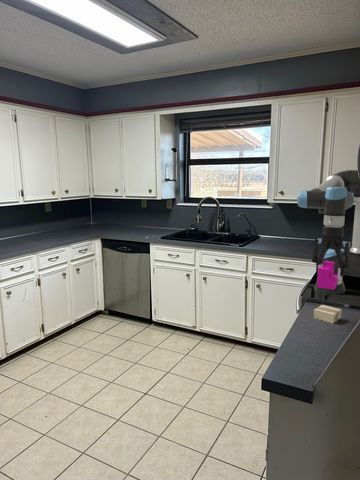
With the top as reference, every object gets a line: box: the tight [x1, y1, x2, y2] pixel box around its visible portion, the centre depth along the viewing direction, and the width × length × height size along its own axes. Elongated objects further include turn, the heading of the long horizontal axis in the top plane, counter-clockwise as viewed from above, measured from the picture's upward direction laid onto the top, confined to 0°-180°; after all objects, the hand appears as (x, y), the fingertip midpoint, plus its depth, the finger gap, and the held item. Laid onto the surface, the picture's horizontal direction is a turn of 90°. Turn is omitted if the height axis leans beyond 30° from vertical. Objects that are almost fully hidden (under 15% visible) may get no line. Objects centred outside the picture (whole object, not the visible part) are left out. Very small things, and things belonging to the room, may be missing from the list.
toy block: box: [316, 261, 338, 290], centre depth 141 cm, size 15×6×8 cm, turn 149°
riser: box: [313, 304, 342, 324], centre depth 144 cm, size 8×8×5 cm
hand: (329, 281), depth 143 cm, fingers closed on toy block, 7 cm apart
